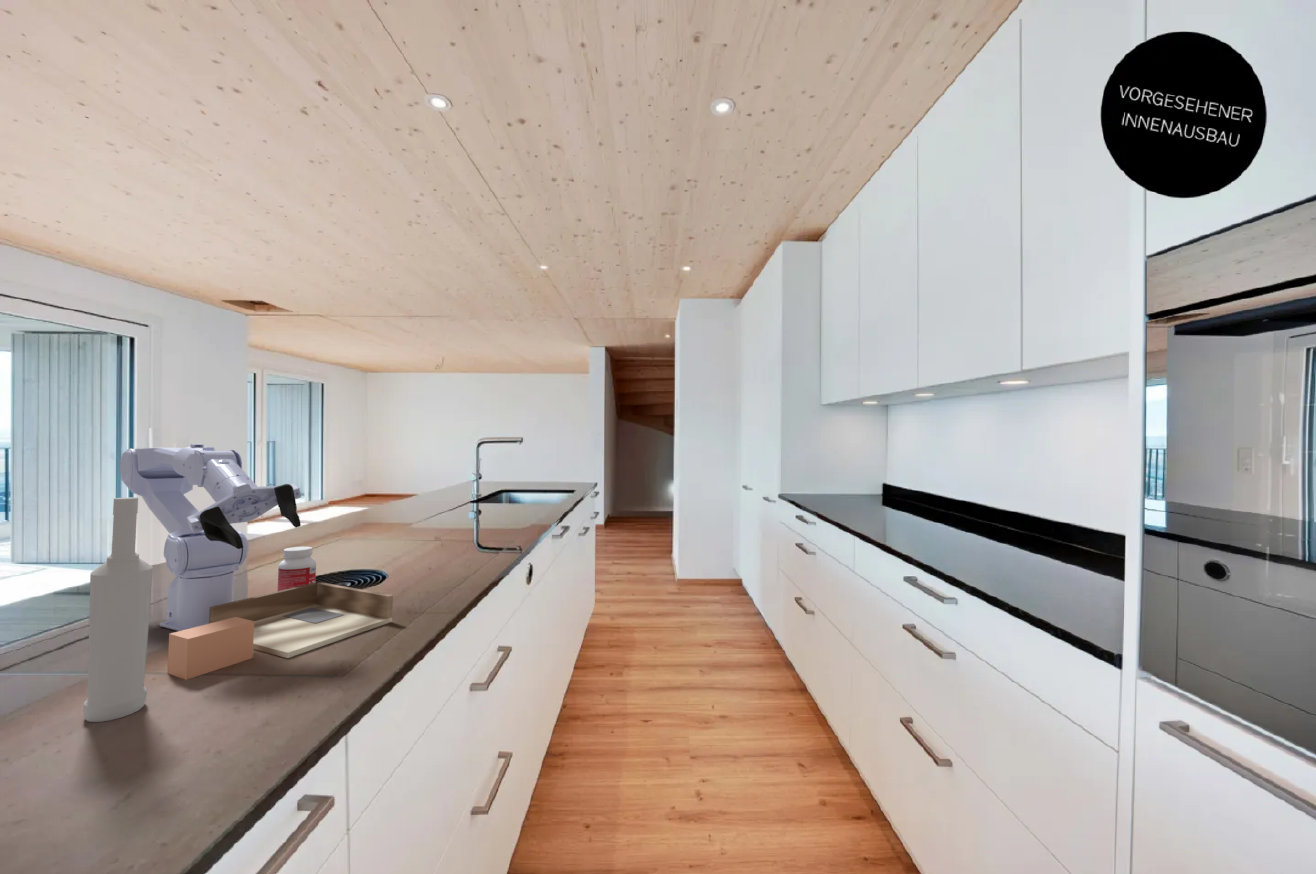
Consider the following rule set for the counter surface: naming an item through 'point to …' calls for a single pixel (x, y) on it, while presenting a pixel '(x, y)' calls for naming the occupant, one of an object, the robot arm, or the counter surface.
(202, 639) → the block
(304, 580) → the pill bottle
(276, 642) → the tray
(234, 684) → the counter surface
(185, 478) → the robot arm
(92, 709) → the bottle
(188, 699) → the counter surface
